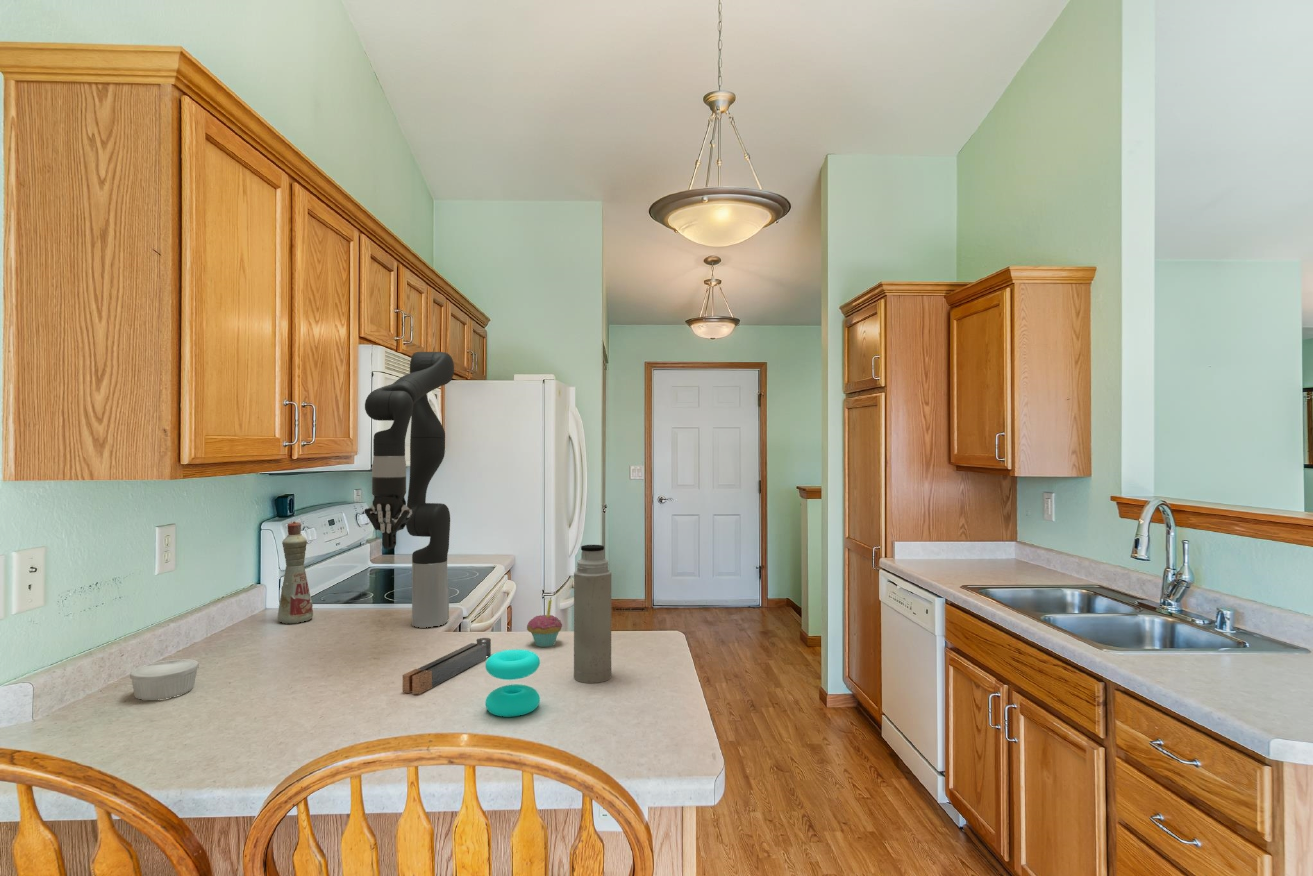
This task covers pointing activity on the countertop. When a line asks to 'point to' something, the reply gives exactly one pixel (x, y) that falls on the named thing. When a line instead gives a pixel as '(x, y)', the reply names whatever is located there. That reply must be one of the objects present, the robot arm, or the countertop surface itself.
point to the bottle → (295, 579)
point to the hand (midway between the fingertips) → (389, 548)
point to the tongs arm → (408, 676)
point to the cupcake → (544, 628)
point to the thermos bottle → (592, 616)
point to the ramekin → (164, 679)
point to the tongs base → (451, 667)
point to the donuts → (512, 696)
